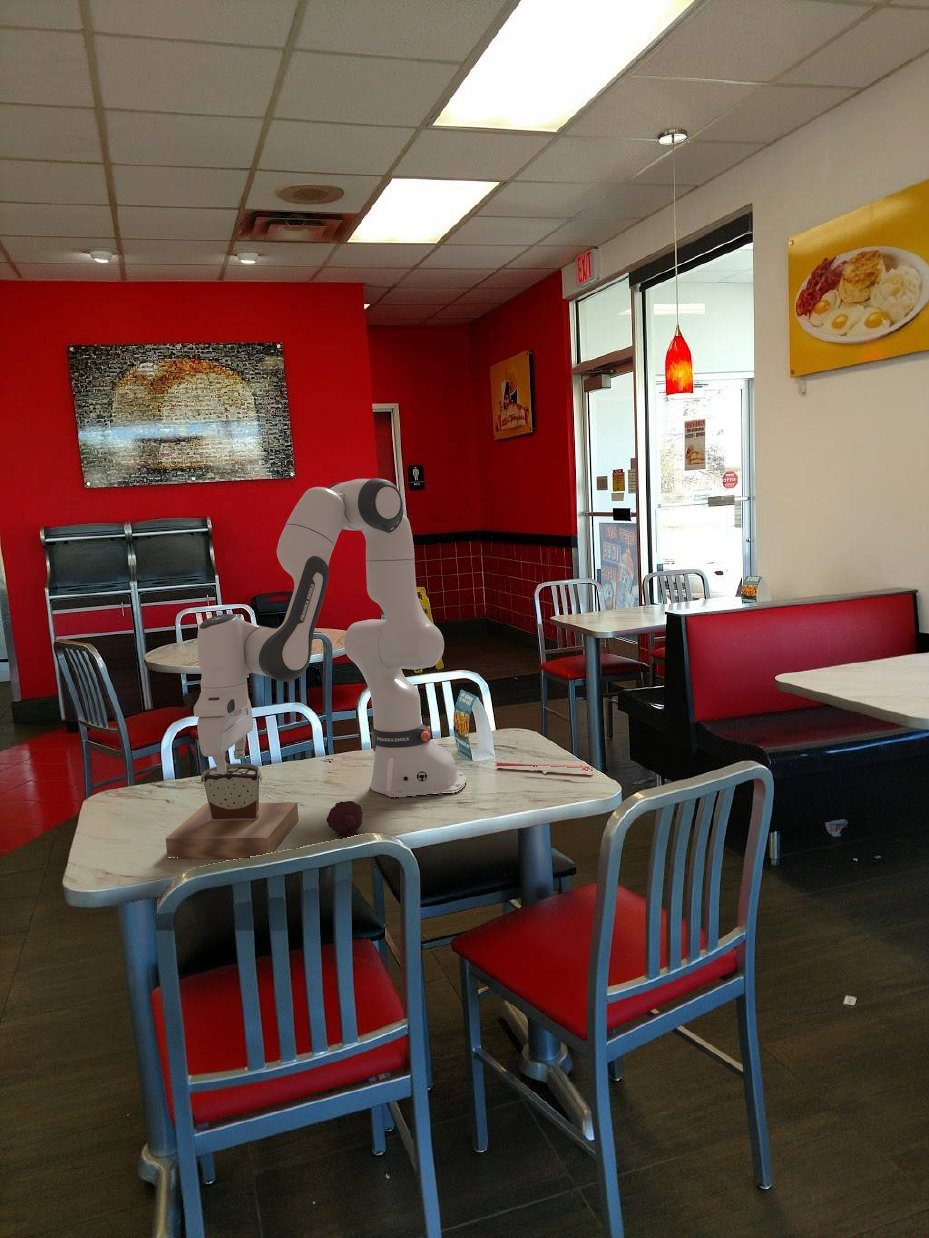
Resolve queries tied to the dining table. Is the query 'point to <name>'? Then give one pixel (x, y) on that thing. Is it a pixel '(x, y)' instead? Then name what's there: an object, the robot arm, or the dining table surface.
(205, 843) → the walnut block
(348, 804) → the icecream
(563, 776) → the dining table surface
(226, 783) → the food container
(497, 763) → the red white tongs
